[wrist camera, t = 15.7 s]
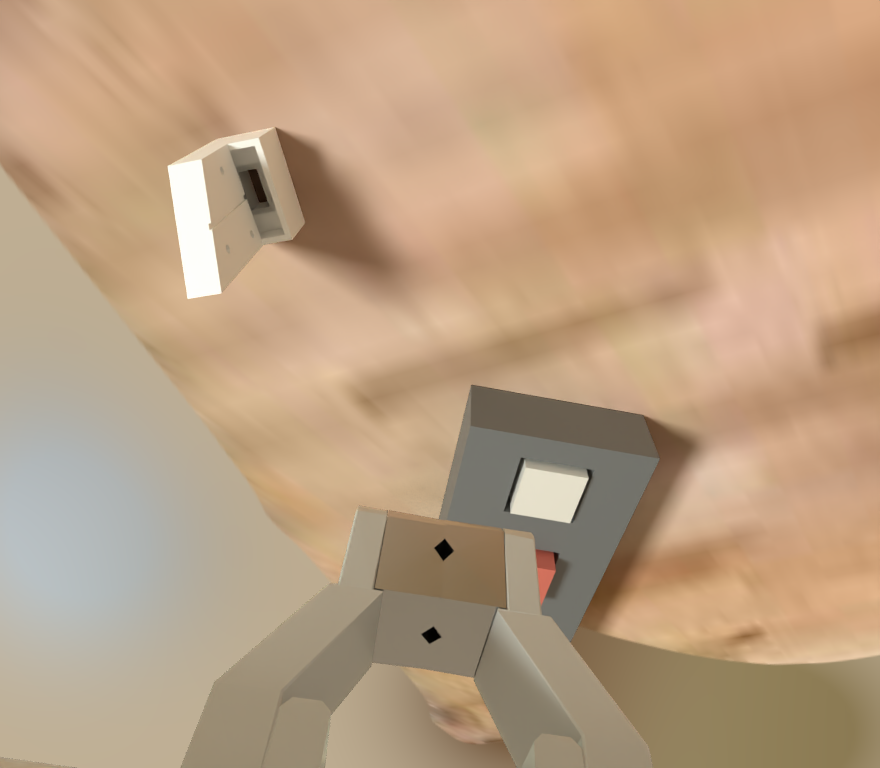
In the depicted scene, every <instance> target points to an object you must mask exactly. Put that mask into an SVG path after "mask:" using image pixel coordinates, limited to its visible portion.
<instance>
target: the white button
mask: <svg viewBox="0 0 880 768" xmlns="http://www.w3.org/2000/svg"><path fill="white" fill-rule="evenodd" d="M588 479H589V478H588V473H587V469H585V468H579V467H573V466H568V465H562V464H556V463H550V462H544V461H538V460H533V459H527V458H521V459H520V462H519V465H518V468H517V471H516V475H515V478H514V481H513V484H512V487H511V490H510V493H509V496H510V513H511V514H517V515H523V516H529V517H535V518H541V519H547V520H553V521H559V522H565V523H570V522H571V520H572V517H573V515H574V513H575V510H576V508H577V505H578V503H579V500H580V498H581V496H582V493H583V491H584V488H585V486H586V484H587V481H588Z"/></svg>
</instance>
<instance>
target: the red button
mask: <svg viewBox="0 0 880 768" xmlns="http://www.w3.org/2000/svg"><path fill="white" fill-rule="evenodd" d="M535 550H536V560H537V570H538V581H539V591H540V602H541V605H542V603H543V600H544V598H545V596H546V593H547V591H548V588H549V586H550V584H551V581H552V579H553V576H554V574H555V572H556V568H555V561H554V553H553V552H550V551H544V550H538V549H535Z"/></svg>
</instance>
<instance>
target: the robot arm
mask: <svg viewBox="0 0 880 768" xmlns="http://www.w3.org/2000/svg"><path fill="white" fill-rule="evenodd" d="M387 515H388V517H387ZM372 663H380V664H389V665H396V666H405V667H413V668H421V669H427V670H433V671H439V672H444V673H450V674H456V675H461V676H467V677H473V678H474V682H475V684H476V686H477V688H478V690H479V692H480V694H481V696H482V698H483V700H484V702H485V704H486V706H487V708H488V710H489V712H490V714H491V716H492V719H493V721H494V723H495V725H496V727H497V729H498V731H499V733H500V735H501V737H502V739H503V741H504V743H505V745H506V747H507V749H508V751H509V753H510V755H511V757H512V759H513V761H514V763H515V765H516V767H517V768H653V765H652V760H651V756H650V751H649V747H648V745H647V744H646V743H645V741H644V740H643V739H642V737H641V736H640V735H639V733H638V732H637V731H636V729H635V728H634V727H633V725H632V724H631V723H630V721H629V720H628V719H627V718H626V716H625V715H624V713H623V712H622V711H621V709H620V708H619V707H618V705H617V704H616V703H615V702H614V700H613V699H612V697H611V696H610V695H609V693H608V692H607V691H606V689H605V688H604V687H603V685H602V684H601V683H600V682H599V680H598V679H597V678H596V676H595V675H594V674H593V672H592V671H591V670H590V668H589V667H588V666H587V664H586V663H585V662H584V660H583V659H582V658H581V656H580V655H579V654H578V653H577V651H576V650H575V648H574V647H573V646H572V644H571V643H570V642H569V640H568V639H567V638H566V636H565V635H564V634H563V632H562V631H561V630H560V628H559V627H558V626H557V624H556V623H555V622H554V620H553V619H552V618H551V617H550V616H544V615H542V612H541V602H540V591H539V581H538V570H537V560H536V550H535V539H534V536H533V534H532V533H531V532H524V531H517V530H510V529H504V528H503V529H501V528H497V527H490V526H483V525H477V524H470V523H463V522H456V521H449V520H440V519H434V518H429V517H424V516H418V515H413V514H407V513H402V512H396V511H391V510H389V512H388V511H387V510H382V509H376V508H371V507H366V506H360V505H359V506H358V509H357V511H356V513H355V517H354V521H353V525H352V529H351V533H350V538H349V542H348V546H347V550H346V554H345V558H344V562H343V566H342V570H341V574H340V578H339V582H338V584H335V583H328V584H327V585H326V586H325V587H324V588H322V589H321V590H320V591H319V592H318V593H317V594H316V595H315V596H313V597H312V598H311V599H310V600H309V601H307V602H306V603H305V604H304V605H303V606H302V607H301V608H299V609H298V610H297V611H296V612H295V613H294V614H292V615H291V616H290V617H289V618H288V619H287V620H286V621H284V622H283V623H282V624H281V625H280V626H279V627H277V628H276V629H275V630H274V631H273V632H272V633H270V634H269V635H268V636H267V637H266V638H265V639H264V640H263V641H261V642H260V643H259V644H258V645H257V646H255V648H253V649H252V650H251V651H250V652H249V653H248V654H246V655H245V656H244V657H243V658H242V659H240V660H239V661H238V662H237V663H236V664H235V665H234V666H232V667H231V668H230V669H229V670H228V671H227V672H226V673H224V674H223V675H222V676H221V677H220V678H219V679H217V680H216V681H215V682H214V685H213V687H212V689H211V692H210V694H209V697H208V700H207V702H206V705H205V707H204V710H203V712H202V715H201V717H200V720H199V722H198V725H197V727H196V730H195V732H194V735H193V737H192V740H191V742H190V745H189V747H188V750H187V752H186V755H185V758H184V760H183V763H182V765H181V768H325V763H326V754H327V745H328V736H329V726H330V718H331V715H332V714H333V712H334V711H335V710H336V709H337V707H338V706H339V705H340V704H341V703H342V701H343V700H344V699H345V698H346V696H347V695H348V694H349V693H350V692H351V690H352V689H353V688H354V686H355V685H356V684H357V683H358V682H359V681H360V679H361V678H362V677H363V676H364V674H365V673H366V672H367V671H368V670H369V668H370V667H371V665H372ZM0 768H75V767H67V766H60V765H53V764H46V763H39V762H32V761H25V760H17V759H10V758H3V757H0Z"/></svg>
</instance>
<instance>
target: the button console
mask: <svg viewBox="0 0 880 768" xmlns="http://www.w3.org/2000/svg"><path fill="white" fill-rule="evenodd" d="M521 458H527V459H533V460H538V461H544V462H550V463H556V464H562V465H568V466H573V467H579V468H585V469H587V473H588V478H589V479H588V481H587V484H586V486H585V488H584V491H583V493H582V496H581V498H580V500H579V503H578V505H577V508H576V510H575V513H574V515H573V517H572V520H571V522H570V523H565V522H559V521H553V520H547V519H541V518H535V517H529V516H523V515H517V514H511V513H510V496H509V493H510V490H511V487H512V484H513V481H514V478H515V475H516V471H517V468H518V465H519V462H520V459H521ZM659 460H660V458H659V455H658V452H657V450H656V447H655V445H654V442H653V439H652V437H651V434H650V432H649V429H648V427H647V424H646V421H645V419H644V416H643V415H638V414H633V413H627V412H621V411H616V410H610V409H604V408H599V407H593V406H587V405H582V404H576V403H571V402H565V401H559V400H554V399H548V398H542V397H537V396H531V395H525V394H520V393H514V392H508V391H503V390H497V389H491V388H486V387H480V386H474V385H471V388H470V393H469V397H468V401H467V405H466V409H465V413H464V417H463V421H462V426H461V430H460V434H459V438H458V442H457V446H456V450H455V454H454V459H453V463H452V467H451V471H450V475H449V479H448V483H447V487H446V492H445V496H444V500H443V504H442V508H441V512H440V516H439V519H440V520H449V521H456V522H463V523H470V524H477V525H483V526H490V527H497V528H501V529H503V528H504V529H510V530H517V531H524V532H531V533H532V534H533V536H534V539H535V549H538V550H544V551H550V552H553V553H554V561H555V568H556V572H555V574H554V576H553V579H552V581H551V584H550V586H549V588H548V591H547V593H546V596H545V598H544V600H543V603H542V605H541V612H542V615H544V616H550V617H551V618H552V619H553V620H554V622H555V623H556V624H557V626H558V627H559V628H560V630H561V631H562V632H563V634H564V635H565V636H566V638H567V639H568V640H569V642H571V640H572V638H573V636H574V634H575V632H576V630H577V628H578V626H579V624H580V622H581V620H582V618H583V616H584V614H585V612H586V609H587V607H588V605H589V603H590V601H591V599H592V597H593V595H594V593H595V591H596V589H597V587H598V585H599V583H600V581H601V579H602V577H603V575H604V573H605V571H606V568H607V566H608V564H609V562H610V560H611V558H612V556H613V554H614V552H615V550H616V548H617V546H618V544H619V542H620V540H621V538H622V536H623V534H624V532H625V530H626V527H627V525H628V523H629V521H630V519H631V517H632V515H633V513H634V511H635V509H636V507H637V505H638V503H639V501H640V499H641V497H642V495H643V493H644V491H645V489H646V486H647V484H648V482H649V480H650V478H651V476H652V474H653V472H654V470H655V468H656V466H657V464H658V462H659Z"/></svg>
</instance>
